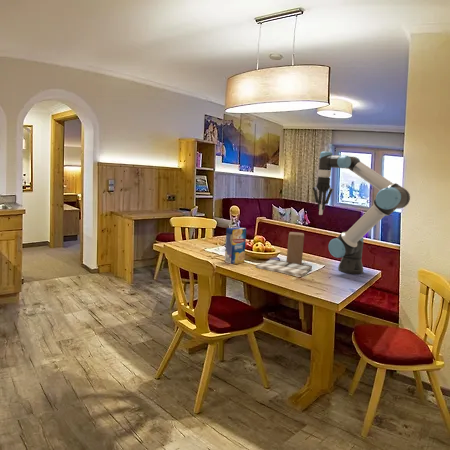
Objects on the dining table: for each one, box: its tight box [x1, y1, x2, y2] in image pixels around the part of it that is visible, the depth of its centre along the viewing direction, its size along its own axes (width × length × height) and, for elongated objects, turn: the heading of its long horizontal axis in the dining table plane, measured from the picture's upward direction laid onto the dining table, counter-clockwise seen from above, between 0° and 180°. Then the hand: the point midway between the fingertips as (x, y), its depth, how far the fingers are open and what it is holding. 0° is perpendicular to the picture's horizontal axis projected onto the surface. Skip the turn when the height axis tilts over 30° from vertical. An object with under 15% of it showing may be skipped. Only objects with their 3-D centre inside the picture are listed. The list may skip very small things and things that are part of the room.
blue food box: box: [224, 226, 247, 265], centre depth 259 cm, size 7×11×22 cm, turn 128°
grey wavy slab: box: [287, 263, 313, 272], centre depth 250 cm, size 13×9×2 cm
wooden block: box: [286, 231, 305, 265], centre depth 266 cm, size 10×10×20 cm
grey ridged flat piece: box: [264, 258, 290, 267], centre depth 258 cm, size 13×9×2 cm
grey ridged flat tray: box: [255, 262, 309, 277], centre depth 245 cm, size 30×10×2 cm, turn 59°
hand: (320, 214), depth 252 cm, fingers closed
